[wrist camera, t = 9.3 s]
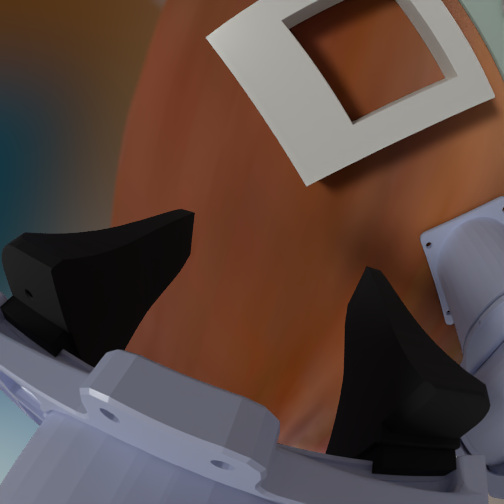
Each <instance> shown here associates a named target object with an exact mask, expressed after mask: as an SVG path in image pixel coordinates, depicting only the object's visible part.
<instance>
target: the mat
mask: <svg viewBox="0 0 504 504" xmlns="http://www.w3.org/2000/svg"><path fill="white" fill-rule="evenodd" d="M458 1H459V2H460V4H461V5H462V6H463V8H464V9H465V11H466V13H467V14H468V16H469V17H470V19H471V20H472V22H473V24H474V25H475V27H476V29H477V30H478V32H479V34H480V35H481V37H482V39H483V41H484V42H485V44H486V46H487V48H488V50H489V52H490V54H491V56H492V58H493V60H494V62H495V64H496V66H497V68H498V70H499V72H500V74H501V76H502V78H503V81H504V15H503V12H502V10H501V0H458Z"/></svg>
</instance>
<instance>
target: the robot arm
mask: <svg viewBox="0 0 504 504" xmlns="http://www.w3.org/2000/svg"><path fill="white" fill-rule="evenodd" d="M503 207H504V196H500V197H498V198H496V199H494V200H492V201H490V202H488V203H486V204H484V205H482V206H479V207H477V208H475V209H473V210H471V211H469V212H467V213H465V214H463V215H460V216H458V217H456V218H454V219H452V220H450V221H448V222H445V223H443V224H441V225H439V226H437V227H434V228H432V229H430V230H428V231H425V232H423V233H422V234H421V236H420V241H421V244H422V246H423V249H424V252H425V255H426V258H427V261H428V264H429V267H430V270H431V273H432V276H433V279H434V282H435V286H436V289H437V292H438V296H439V299H440V303H441V307H442V310H443V314H444V318H445V322H446V324H448V325H451V324H454V325H455V328H456V331H457V335H458V338H459V342H460V345H461V349H462V353H463V360H462V362H461V364H460V365H459V364H457V363H456V362H455V361H454V360H453V359H451V358H450V357H449V356H448V355H447V354H446V353H445V352H444V351H443V350H442V349H441V348H440V347H439V346H438V345H437V344H436V343H435V342H434V341H433V340H432V339H431V338H430V337H429V336H428V335H427V333H426V332H425V331H424V330H423V329H422V328H421V326H420V325H419V324H418V323H417V321H416V320H415V319H414V317H413V316H412V315H411V313H410V312H409V311H408V309H407V308H406V307H405V305H404V304H403V302H402V301H401V299H400V298H399V296H398V295H397V293H396V292H395V290H394V289H393V287H392V286H391V284H390V283H389V282H388V280H387V279H386V277H385V276H384V275H383V273H382V272H381V271H380V270H377V269H374V268H370V267H366V269H365V271H364V273H363V275H362V277H361V279H360V281H359V283H358V285H357V288H356V290H355V292H354V294H353V296H352V298H351V300H350V302H349V304H348V307H347V314H346V321H345V349H344V375H343V383H342V389H341V395H340V400H339V405H338V409H337V414H336V418H335V422H334V426H333V430H332V434H331V437H330V441H329V444H328V447H327V451H326V454H323V453H318V452H313V451H308V450H304V449H299V448H295V447H291V446H287V445H283V444H279V443H277V440H278V437H279V433H280V421H279V420H278V419H277V418H276V417H275V416H274V415H273V414H272V413H271V412H270V411H269V410H268V409H267V408H266V407H265V406H263V405H261V404H259V403H257V402H254V401H252V400H250V399H248V398H246V397H244V396H241V395H238V394H235V393H232V392H229V391H227V390H224V389H221V388H218V387H215V386H213V385H210V384H207V383H205V382H202V381H200V380H197V379H194V378H192V377H189V376H187V375H184V374H182V373H180V372H177V371H175V370H172V369H170V368H168V367H165V366H163V365H161V364H158V363H156V362H154V361H152V360H150V359H147V358H145V357H143V356H141V355H138V354H135V353H131V352H128V351H125V348H126V346H127V344H128V343H129V341H130V339H131V337H132V336H133V334H134V332H135V330H136V329H137V327H138V325H139V324H140V322H141V321H142V319H143V317H144V316H145V314H146V313H147V311H148V310H149V309H150V307H151V306H152V305H153V303H154V302H155V301H156V300H157V299H158V297H159V296H160V295H161V294H162V293H163V291H164V290H165V289H166V288H167V287H168V285H169V284H170V283H171V282H172V281H173V279H174V278H175V277H176V276H177V274H178V273H179V272H180V270H181V269H182V267H183V266H184V264H185V262H186V261H187V259H188V257H189V256H190V252H191V242H192V232H193V223H194V214H195V213H193V212H190V211H187V210H183V209H179V210H174V211H170V212H167V213H163V214H160V215H157V216H153V217H150V218H147V219H144V220H140V221H136V222H133V223H129V224H126V225H122V226H118V227H113V228H108V229H103V230H97V231H88V232H80V233H67V234H43V233H23V234H22V235H20V236H19V237H17V238H16V239H14V240H13V241H11V242H10V243H9V244H7V245H6V246H5V247H4V248H3V252H2V263H3V268H4V271H5V274H6V277H7V280H8V283H9V286H10V289H11V292H12V294H13V296H12V297H11V298H10V299H8V300H7V298H6V297H5V295H3V293H2V292H0V389H1V390H2V391H3V392H4V393H5V394H6V395H7V396H8V397H9V398H10V399H11V400H12V401H13V402H14V403H15V404H16V405H17V406H18V407H19V408H20V409H21V410H23V411H24V412H25V413H26V414H27V415H28V416H29V417H30V418H31V419H33V420H34V421H35V422H36V423H37V424H38V425H40V427H39V428H38V429H37V431H36V432H35V434H34V435H33V437H32V438H31V439H30V441H29V442H28V444H27V445H26V447H25V448H24V450H23V451H22V453H21V454H20V456H19V457H18V458H17V460H16V462H15V463H14V465H13V466H12V468H11V469H10V471H9V472H8V474H7V475H6V477H5V478H4V480H3V481H2V483H1V485H0V504H488V493H489V495H490V496H492V497H494V498H499V499H504V211H502V209H503ZM428 242H431V245H430V246H426V244H427V243H428ZM447 311H450V312H447ZM456 456H457V458H456Z"/></svg>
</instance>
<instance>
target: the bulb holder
mask: <svg viewBox="0 0 504 504" xmlns="http://www.w3.org/2000/svg"><path fill="white" fill-rule="evenodd" d="M342 1H344V0H259V1H257V2H256V3H254V4H252V5H251V6H249V7H248V8H246V9H245V10H243V11H242V12H240V13H239V14H237V15H236V16H234V17H233V18H232V19H230V20H229V21H227V22H226V23H224V24H223V25H222V26H220V27H219V28H218V29H216V30H215V31H214V32H212V33H211V34H210V35H208V36H207V37H206V39H207V40H208V41H209V43H210V44H211V45H212V47H213V48H214V49H215V51H216V52H217V53H218V55H219V56H220V57H221V59H222V60H223V61H224V63H225V64H226V65H227V67H228V68H229V69H230V71H231V72H232V73H233V75H234V76H235V78H236V79H237V80H238V82H239V83H240V85H241V86H242V87H243V89H244V90H245V92H246V93H247V95H248V96H249V97H250V99H251V100H252V102H253V103H254V105H255V106H256V108H257V109H258V111H259V112H260V114H261V115H262V117H263V118H264V120H265V121H266V123H267V124H268V126H269V127H270V129H271V130H272V132H273V133H274V135H275V136H276V138H277V139H278V141H279V143H280V144H281V146H282V147H283V149H284V150H285V152H286V154H287V155H288V157H289V158H290V160H291V162H292V163H293V165H294V166H295V168H296V170H297V171H298V173H299V175H300V176H301V178H302V180H303V181H304V183H305V185H306V186H308V185H310V184H312V183H314V182H316V181H318V180H320V179H322V178H324V177H326V176H328V175H330V174H332V173H334V172H336V171H338V170H340V169H342V168H344V167H346V166H348V165H350V164H352V163H354V162H356V161H358V160H360V159H362V158H364V157H366V156H368V155H370V154H372V153H374V152H376V151H378V150H381V149H383V148H385V147H387V146H389V145H391V144H393V143H395V142H397V141H399V140H401V139H403V138H406V137H408V136H410V135H412V134H414V133H416V132H418V131H421V130H423V129H425V128H427V127H429V126H431V125H433V124H436V123H438V122H440V121H442V120H444V119H447V118H449V117H451V116H453V115H456V114H458V113H460V112H462V111H465V110H467V109H469V108H471V107H474V106H476V105H478V104H480V103H483V102H485V101H487V100H490V99H492V98H494V97H495V95H494V93H493V91H492V88H491V86H490V84H489V82H488V80H487V77H486V75H485V73H484V71H483V69H482V67H481V65H480V63H479V61H478V59H477V57H476V56H475V54H474V52H473V50H472V48H471V46H470V45H469V43H468V41H467V39H466V38H465V36H464V34H463V33H462V31H461V29H460V28H459V26H458V25H457V23H456V21H455V20H454V18H453V17H452V15H451V14H450V12H449V11H448V9H447V8H446V7H445V5H444V4H443V2H442V1H441V0H395V1H396V2H397V3H398V4H399V6H400V7H401V8H402V10H403V11H404V13H405V14H406V15H407V17H408V18H409V19H410V21H411V22H412V24H413V25H414V27H415V28H416V30H417V31H418V33H419V34H420V36H421V37H422V39H423V40H424V42H425V44H426V45H427V47H428V48H429V50H430V52H431V53H432V55H433V57H434V58H435V60H436V62H437V64H438V65H439V67H440V69H441V71H442V73H443V75H444V76H445V79H442V80H440V81H438V82H435V83H433V84H431V85H428V86H426V87H424V88H422V89H420V90H417V91H415V92H413V93H411V94H409V95H406V96H404V97H402V98H400V99H398V100H396V101H394V102H391V103H389V104H387V105H385V106H383V107H381V108H379V109H377V110H375V111H373V112H371V113H369V114H367V115H365V116H363V117H361V118H359V119H357V120H355V121H353V122H352V121H351V119H350V118H349V116H348V114H347V113H346V111H345V109H344V108H343V106H342V105H341V103H340V101H339V100H338V98H337V97H336V95H335V93H334V92H333V90H332V89H331V87H330V86H329V84H328V83H327V81H326V80H325V78H324V77H323V75H322V74H321V72H320V71H319V69H318V68H317V66H316V65H315V64H314V62H313V61H312V59H311V58H310V57H309V55H308V54H307V52H306V51H305V50H304V48H303V47H302V46H301V44H300V43H299V42H298V40H297V39H296V38H295V36H294V35H293V34H292V33H291V31H290V30H289V29H290V28H292V27H294V26H295V25H297V24H299V23H301V22H302V21H304V20H306V19H308V18H310V17H312V16H314V15H315V14H317V13H319V12H321V11H323V10H325V9H327V8H329V7H331V6H333V5H335V4H337V3H339V2H342Z"/></svg>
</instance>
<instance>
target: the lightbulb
mask: <svg viewBox="0 0 504 504" xmlns="http://www.w3.org/2000/svg"><path fill="white" fill-rule="evenodd" d="M501 10H502V12H503V15H504V0H501Z"/></svg>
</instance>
